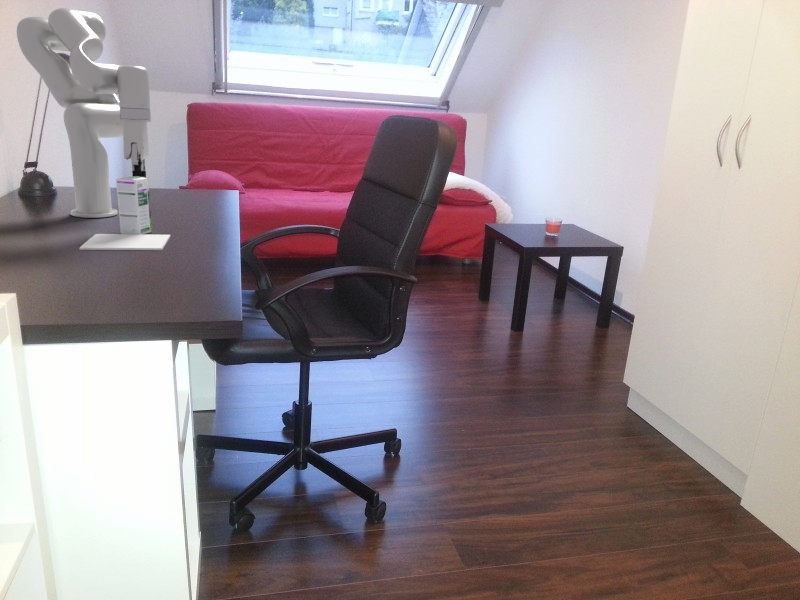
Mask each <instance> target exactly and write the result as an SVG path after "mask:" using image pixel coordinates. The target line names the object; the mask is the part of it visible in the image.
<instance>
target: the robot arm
mask: <svg viewBox="0 0 800 600" xmlns="http://www.w3.org/2000/svg"><path fill="white" fill-rule="evenodd" d="M106 33H107V29H106V25H105V22H104V21H103V19H102V18H101V17H100V16H99V15H98V14H97V13H94V12H92V11H85V10H80V9H73V8H67V7H64V8H61V7H60V8H56V9H54V10H53V11H51V12H50V14H49V15H48V17H42V16H29V17H25V18H22V19H21V20H19V22H18V23H17V26H16V37H17V42H18V45H19V48H20V50H21V52H22V54H23V56H24V57H25V59H26V60H27V62H28V63H29V64H30V66H32V67H33V69H34V70H35V71H36V72H37V73H38V75H39V76H40V77H41V79H42V80H43V82H44V84H45V86H46V87H47V89H48V90H49V92H50V94H51V95H52V96H53V98H54V100H55V101H56V102H57V104H59V106H60V107H61V108H64V112H63V123H64V127H65V130H66V134H67V137H68V141H69V148H70V157H71V168H72V178H73V188H74V189H73V190H74V202H75V208H74V209H71V210H70V215H71V216H73V217H76V218H84V219H85V218H88V219H90V218H91V219H92V218H93V219H95V218H96V219H97V218H109V217H114V216H116V215H119V211H118V209H116V208H112V196H111V195H112V194H111V183H110V171H109V159H108V158H109V157H108V153H107V150H106V147H104V145H103V144H102V142H101V141H100V139H101V138H104V139H105V138H106V139H107V138H121V137H122V138H123V159H125V160H127V161H128V160H130V159H131V160H130V161H131V168H132V171H131V172H132V173H131V174H132V176H131V177H146V178H147V170H146V159H147V158H148V157H149V152H150V151H149V135H148V123H151V122H152V117H151V115H152V114H151V102H150V101H151V100H150V98H151V97H150V81H149V80H150V79H149V72H148V70H147V68H146V67H144V66H138V65H128V64H127V65H124V64H123V65H122V64H115V63H105V62H104V63H103V62H102V63H101V62H96V61H97V60H98V59H100V57H101V56H102V54H103V50H104V43H103V42H104V40H105V39H106V35H107V34H106ZM55 51H61V52H70V53H69V58H68V59H69V62H68V61H67V60H66V59H65V58H63V57H62V56H61V55H60V54H58V53H56V52H55ZM117 95H118V96H117Z"/></svg>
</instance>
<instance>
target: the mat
mask: <svg viewBox="0 0 800 600" xmlns="http://www.w3.org/2000/svg"><path fill="white" fill-rule="evenodd" d="M170 238H171V234H150V233H146V234H121V233H95V234H93V236H91V237H90V238H89V239H88V240H86V242H84V243H83V244H82V245H81V246H80V247H79V249H78V250H79V251H86V250H87V251H96V250H97V251H162V250H163V249H164V247H165V246H166V245H167V244H168V241H169V240H170Z"/></svg>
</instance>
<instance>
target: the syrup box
mask: <svg viewBox="0 0 800 600" xmlns="http://www.w3.org/2000/svg"><path fill="white" fill-rule="evenodd" d="M115 181H116V182H115V184H116V185H115V186H116V195H117V205H118V207H117V209H118V216H119V227H120V234H150V233H153V225H152V211H151V197H150V196H151V195H150V187H149V186H150V183H149V178H148V177H147V176H146V177H133V176H127V177H119V178H116V179H115Z"/></svg>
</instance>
